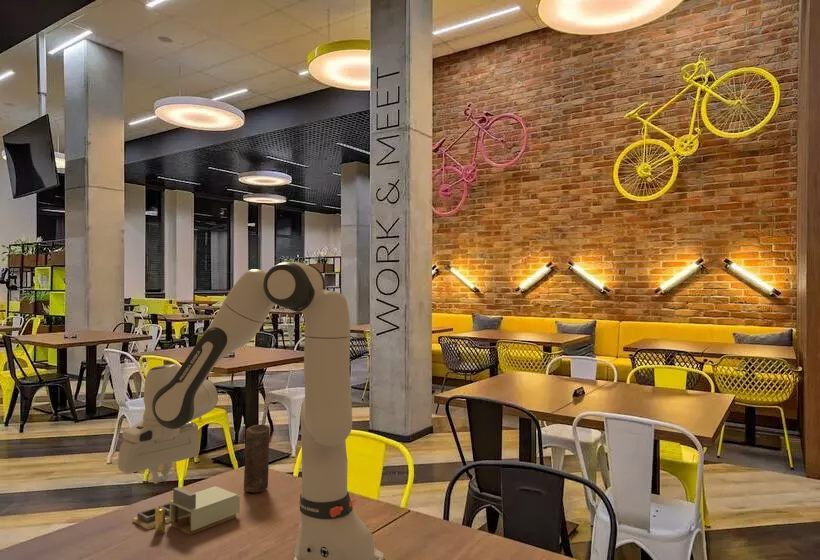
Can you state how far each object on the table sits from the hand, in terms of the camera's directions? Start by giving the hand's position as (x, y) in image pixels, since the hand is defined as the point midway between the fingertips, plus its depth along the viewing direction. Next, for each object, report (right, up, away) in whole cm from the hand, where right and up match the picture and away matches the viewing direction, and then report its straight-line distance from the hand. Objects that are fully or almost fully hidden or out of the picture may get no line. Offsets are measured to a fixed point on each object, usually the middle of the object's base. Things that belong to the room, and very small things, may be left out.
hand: (159, 481), depth 145 cm
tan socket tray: (-5, -14, +12) cm, 19 cm away
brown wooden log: (+16, -15, +33) cm, 39 cm away
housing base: (+8, -14, +10) cm, 19 cm away
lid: (+8, -13, +10) cm, 18 cm away
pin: (-1, -14, +3) cm, 15 cm away
